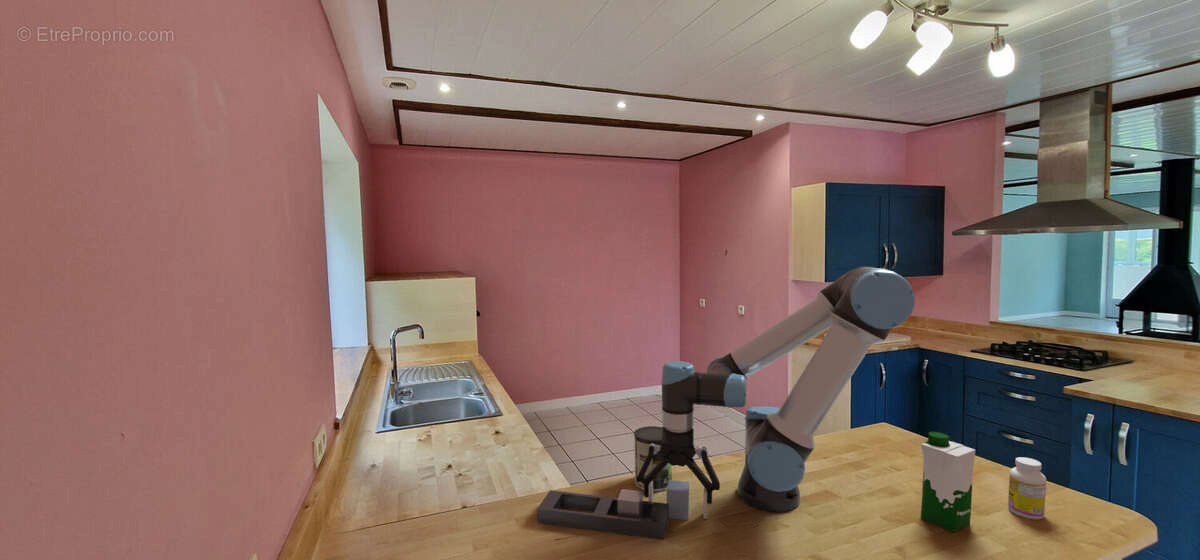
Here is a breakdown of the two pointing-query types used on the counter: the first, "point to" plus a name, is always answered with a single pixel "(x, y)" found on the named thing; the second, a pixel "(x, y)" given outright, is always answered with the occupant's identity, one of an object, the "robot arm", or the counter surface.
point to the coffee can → (642, 444)
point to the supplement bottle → (1027, 489)
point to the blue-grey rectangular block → (678, 499)
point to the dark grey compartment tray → (602, 515)
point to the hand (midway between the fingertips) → (677, 512)
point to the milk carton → (947, 482)
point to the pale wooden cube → (630, 504)
